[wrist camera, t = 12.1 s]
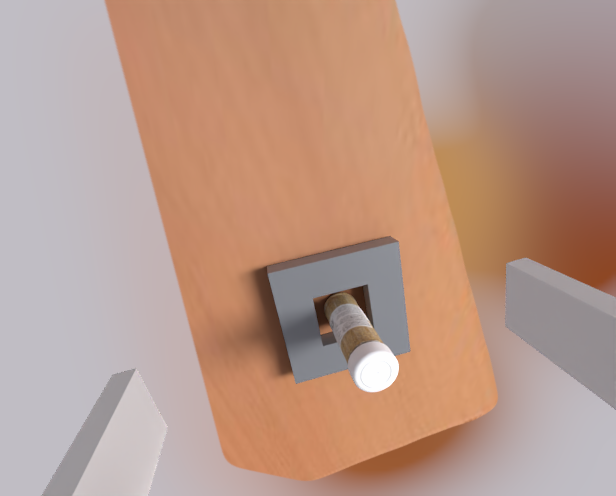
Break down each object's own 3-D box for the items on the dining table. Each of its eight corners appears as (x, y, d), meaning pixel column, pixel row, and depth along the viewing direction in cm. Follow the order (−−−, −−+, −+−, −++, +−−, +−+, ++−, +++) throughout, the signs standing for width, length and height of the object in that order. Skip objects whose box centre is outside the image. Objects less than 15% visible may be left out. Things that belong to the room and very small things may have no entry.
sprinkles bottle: (353, 321, 43) (395, 393, 30) (320, 321, 42) (350, 395, 29) (358, 290, 42) (404, 352, 29) (324, 290, 41) (357, 353, 28)
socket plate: (266, 266, 39) (267, 273, 36) (390, 236, 40) (398, 241, 38) (293, 371, 44) (295, 383, 41) (402, 341, 45) (410, 351, 43)
